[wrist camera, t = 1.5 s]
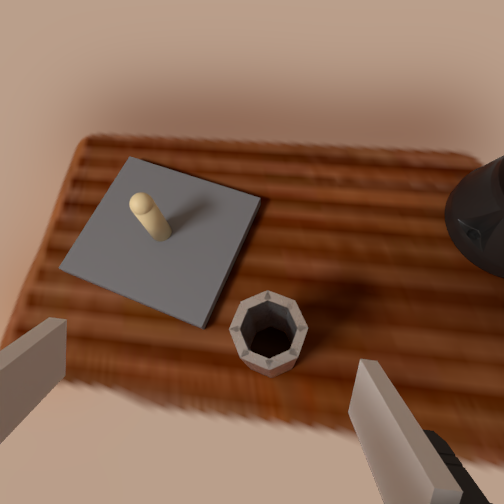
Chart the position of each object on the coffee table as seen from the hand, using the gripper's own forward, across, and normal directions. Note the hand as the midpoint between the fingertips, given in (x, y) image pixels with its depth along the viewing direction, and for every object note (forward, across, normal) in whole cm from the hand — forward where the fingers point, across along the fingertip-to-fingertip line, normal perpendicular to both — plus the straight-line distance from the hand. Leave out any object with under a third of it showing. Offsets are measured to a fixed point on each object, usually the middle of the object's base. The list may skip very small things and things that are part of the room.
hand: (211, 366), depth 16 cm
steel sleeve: (+22, +5, -10) cm, 25 cm away
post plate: (+31, -10, -1) cm, 33 cm away
